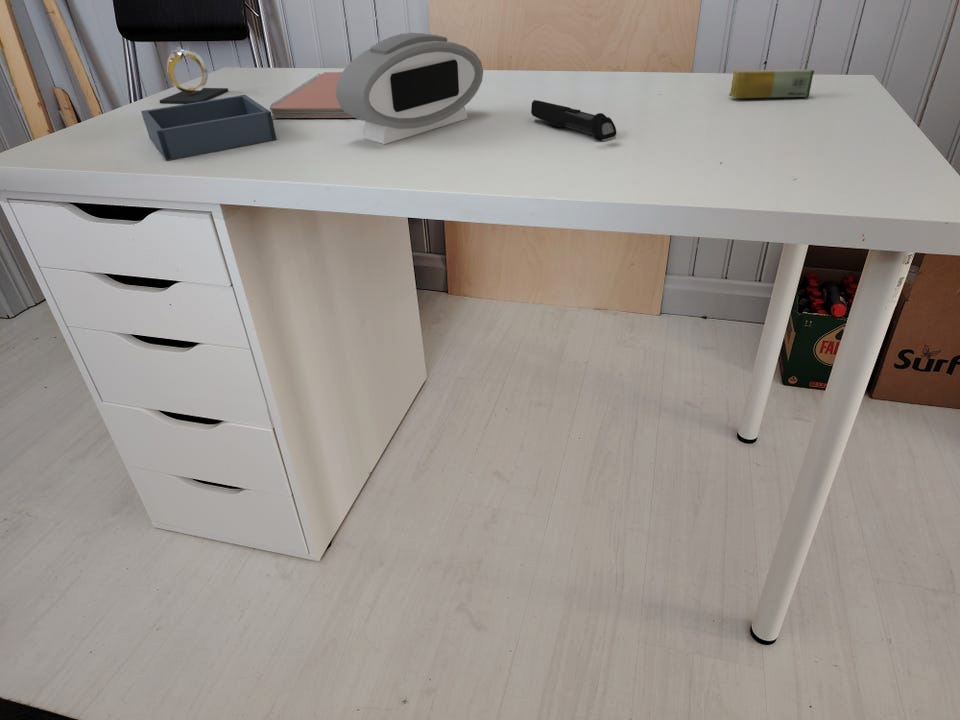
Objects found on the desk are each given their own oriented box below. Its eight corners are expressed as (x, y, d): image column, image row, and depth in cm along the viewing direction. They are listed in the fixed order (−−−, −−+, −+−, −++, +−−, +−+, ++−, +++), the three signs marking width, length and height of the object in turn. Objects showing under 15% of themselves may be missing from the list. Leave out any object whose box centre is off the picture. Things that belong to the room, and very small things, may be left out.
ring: (178, 98, 117) (164, 50, 113) (171, 96, 119) (158, 48, 115) (215, 91, 121) (203, 44, 117) (208, 89, 123) (196, 43, 119)
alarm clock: (369, 151, 89) (356, 50, 82) (343, 143, 93) (328, 45, 85) (485, 115, 102) (482, 25, 95) (458, 109, 106) (453, 22, 99)
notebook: (320, 81, 127) (318, 70, 126) (404, 81, 125) (403, 69, 124) (265, 119, 105) (262, 106, 104) (365, 119, 103) (364, 106, 102)
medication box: (802, 95, 105) (808, 68, 103) (809, 97, 103) (816, 70, 101) (728, 96, 106) (732, 69, 104) (733, 98, 103) (738, 71, 101)
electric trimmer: (543, 117, 101) (543, 96, 99) (618, 137, 90) (620, 113, 88) (525, 122, 99) (525, 100, 97) (599, 142, 88) (600, 118, 87)
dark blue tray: (166, 160, 89) (156, 131, 87) (149, 138, 98) (140, 111, 96) (276, 139, 95) (270, 111, 93) (251, 120, 105) (245, 94, 103)
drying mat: (198, 104, 116) (197, 101, 115) (159, 103, 117) (159, 100, 117) (228, 90, 124) (227, 88, 123) (191, 90, 125) (191, 87, 125)
